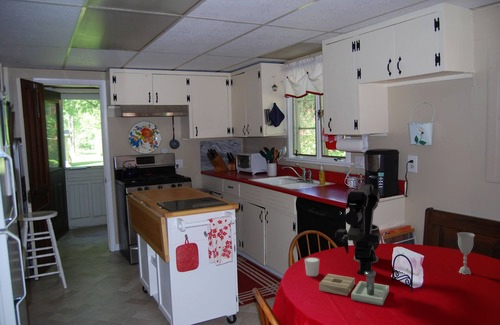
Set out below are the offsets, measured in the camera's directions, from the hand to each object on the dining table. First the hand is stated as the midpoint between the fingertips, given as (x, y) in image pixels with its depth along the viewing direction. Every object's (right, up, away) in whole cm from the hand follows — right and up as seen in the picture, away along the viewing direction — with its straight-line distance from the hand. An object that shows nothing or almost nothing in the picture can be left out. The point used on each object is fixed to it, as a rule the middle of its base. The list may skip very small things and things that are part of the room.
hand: (357, 254), depth 173 cm
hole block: (-10, -14, -2) cm, 17 cm away
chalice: (+52, -11, +9) cm, 54 cm away
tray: (+2, -14, -11) cm, 18 cm away
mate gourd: (+13, -10, +32) cm, 36 cm away
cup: (-18, -13, +14) cm, 26 cm away
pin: (+2, -13, -11) cm, 17 cm away
